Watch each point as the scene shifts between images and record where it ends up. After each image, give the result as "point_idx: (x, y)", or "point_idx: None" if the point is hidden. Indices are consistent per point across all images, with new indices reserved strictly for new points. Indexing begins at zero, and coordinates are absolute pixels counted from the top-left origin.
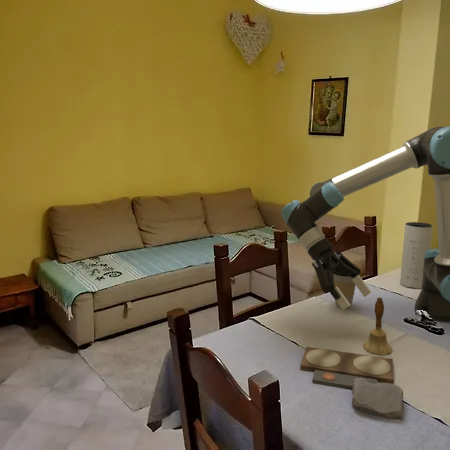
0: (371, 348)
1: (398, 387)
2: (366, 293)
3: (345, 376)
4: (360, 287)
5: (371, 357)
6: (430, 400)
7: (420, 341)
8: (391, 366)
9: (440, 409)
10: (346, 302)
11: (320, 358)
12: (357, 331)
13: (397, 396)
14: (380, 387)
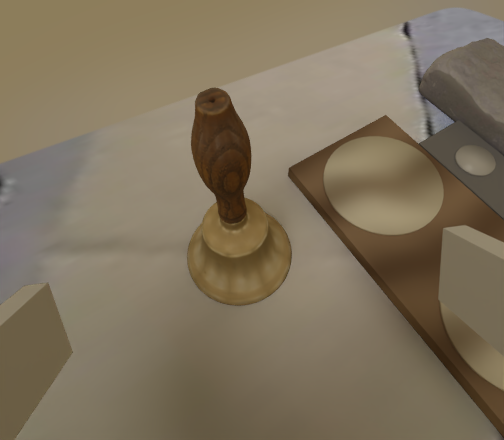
0: (281, 246)
1: (452, 56)
2: (52, 327)
3: (500, 202)
4: (4, 406)
5: (345, 205)
6: (363, 59)
7: (87, 191)
8: (332, 148)
9: (373, 40)
10: (493, 242)
11: None
12: (159, 402)
13: (481, 45)
14: (491, 81)
